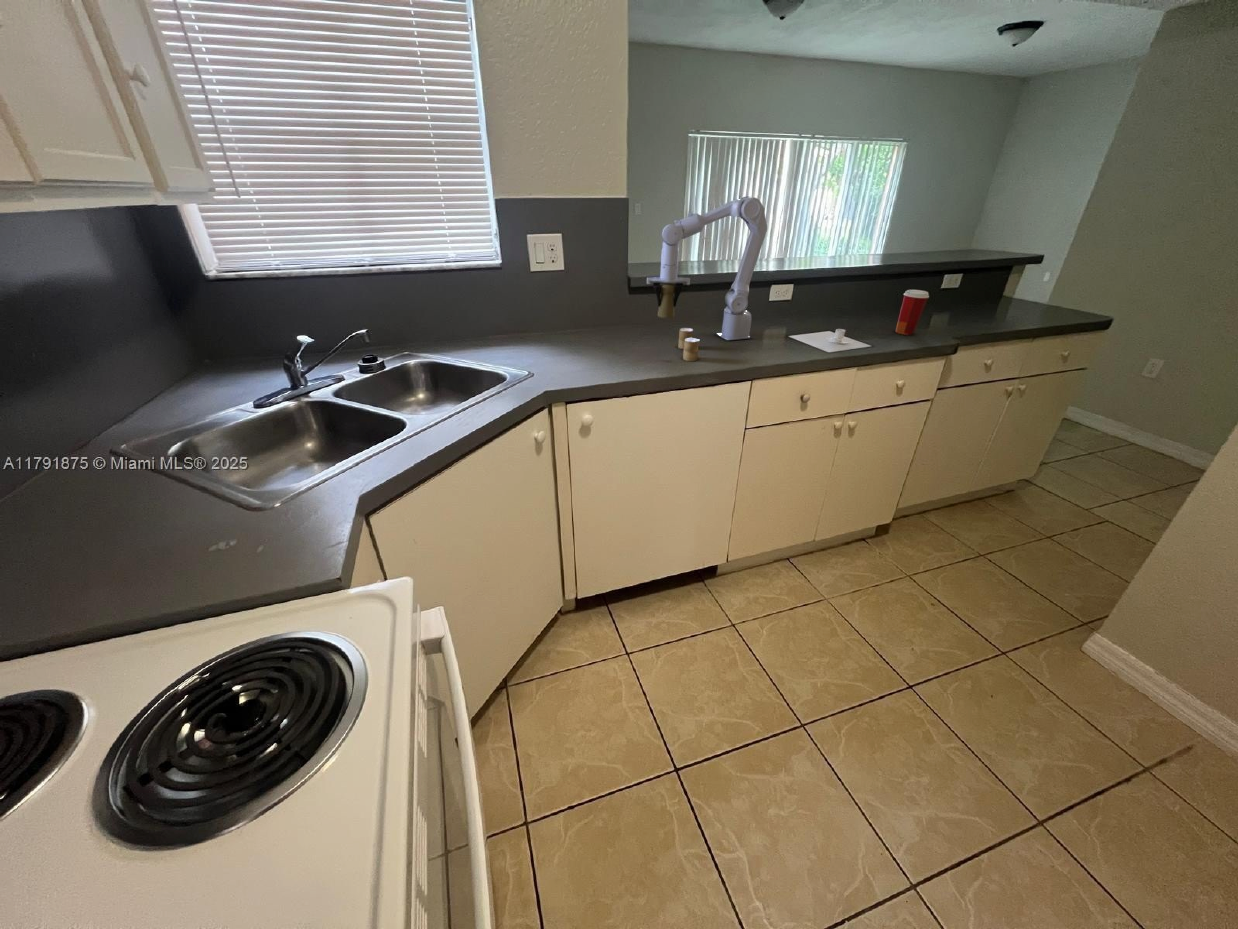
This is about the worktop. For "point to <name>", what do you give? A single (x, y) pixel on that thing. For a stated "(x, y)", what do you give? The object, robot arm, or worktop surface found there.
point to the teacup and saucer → (830, 341)
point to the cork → (667, 301)
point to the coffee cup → (911, 311)
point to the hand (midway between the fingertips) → (666, 305)
